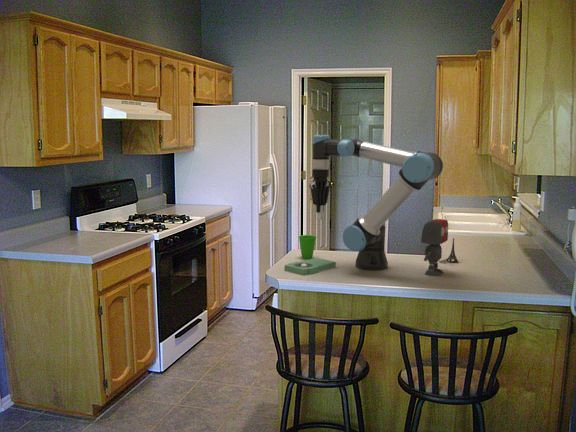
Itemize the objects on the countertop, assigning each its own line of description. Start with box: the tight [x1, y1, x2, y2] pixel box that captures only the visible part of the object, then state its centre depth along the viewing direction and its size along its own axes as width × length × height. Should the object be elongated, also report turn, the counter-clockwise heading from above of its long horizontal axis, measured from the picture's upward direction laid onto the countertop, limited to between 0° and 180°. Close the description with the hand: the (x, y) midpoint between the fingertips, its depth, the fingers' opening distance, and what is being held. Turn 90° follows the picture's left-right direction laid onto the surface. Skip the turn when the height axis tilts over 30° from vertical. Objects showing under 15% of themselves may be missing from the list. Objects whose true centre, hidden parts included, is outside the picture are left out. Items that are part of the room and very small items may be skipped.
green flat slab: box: [284, 257, 337, 276], centre depth 262 cm, size 22×14×2 cm, turn 135°
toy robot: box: [420, 207, 449, 277], centre depth 253 cm, size 22×9×30 cm, turn 148°
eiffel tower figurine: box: [437, 237, 460, 267], centre depth 277 cm, size 15×10×13 cm
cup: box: [298, 234, 317, 260], centre depth 283 cm, size 9×9×11 cm
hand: (319, 219), depth 264 cm, fingers closed
